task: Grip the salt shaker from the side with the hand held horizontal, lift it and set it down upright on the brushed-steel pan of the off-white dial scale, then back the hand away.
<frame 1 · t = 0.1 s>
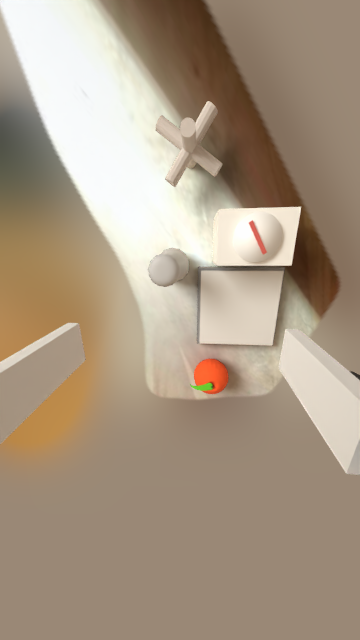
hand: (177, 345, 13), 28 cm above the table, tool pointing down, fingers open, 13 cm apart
salt shaker: (174, 264, 39), on the table
dial scale: (236, 306, 40), on the table
pipe connector: (191, 162, 33), on the table
clementine: (207, 366, 46), on the table
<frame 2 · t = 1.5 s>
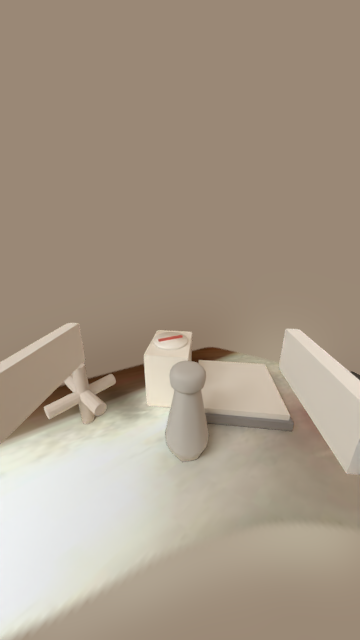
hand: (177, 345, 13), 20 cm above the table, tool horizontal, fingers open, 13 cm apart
salt shaker: (186, 448, 29), on the table
dial scale: (234, 393, 39), on the table
pipe connector: (88, 420, 33), on the table
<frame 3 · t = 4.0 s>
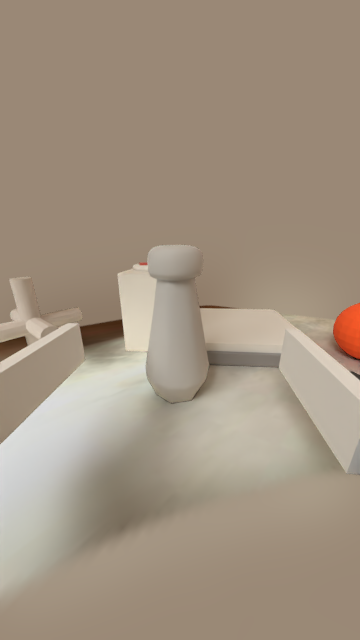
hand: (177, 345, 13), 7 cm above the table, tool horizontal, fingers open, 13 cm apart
salt shaker: (177, 390, 20), on the table
dial scale: (239, 338, 31), on the table
pipe connector: (43, 366, 24), on the table
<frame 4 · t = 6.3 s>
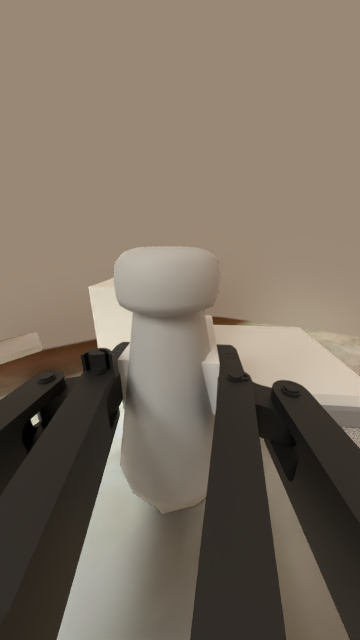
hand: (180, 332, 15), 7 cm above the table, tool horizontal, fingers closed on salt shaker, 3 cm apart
salt shaker: (173, 475, 13), on the table, touching gripper
dial scale: (257, 369, 23), on the table
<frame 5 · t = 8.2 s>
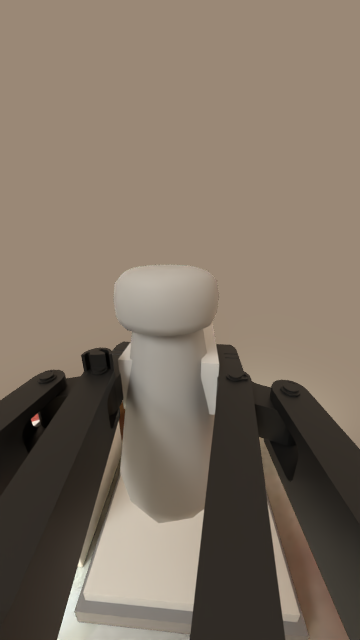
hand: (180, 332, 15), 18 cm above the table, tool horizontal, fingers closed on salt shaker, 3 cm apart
salt shaker: (173, 484, 13), point 10 cm above the table, touching gripper
dial scale: (189, 502, 21), on the table
when the fingers open (11 cm above the table, at t = 10.0 s): salt shaker stays where it is, resting on dial scale.
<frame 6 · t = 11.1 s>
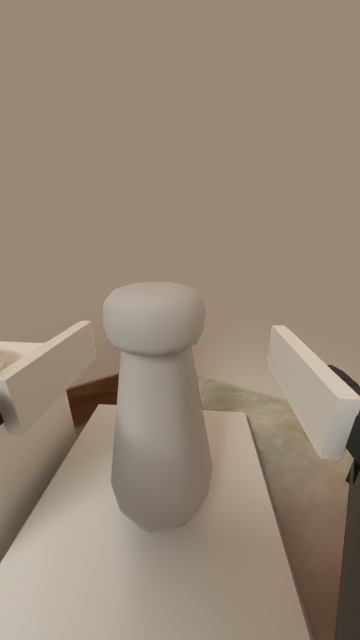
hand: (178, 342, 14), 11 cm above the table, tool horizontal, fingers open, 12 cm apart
salt shaker: (163, 493, 13), point 2 cm above the table, touching dial scale
dial scale: (157, 514, 14), on the table
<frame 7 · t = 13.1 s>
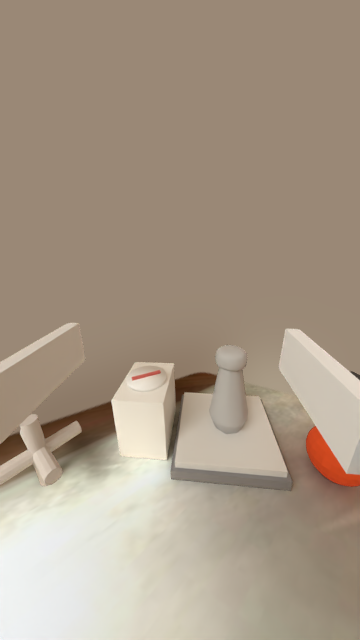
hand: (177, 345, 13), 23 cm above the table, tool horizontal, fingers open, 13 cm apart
salt shaker: (227, 424, 33), point 2 cm above the table, touching dial scale
dial scale: (223, 435, 34), on the table
pipe connector: (48, 479, 28), on the table
clementine: (335, 476, 27), on the table
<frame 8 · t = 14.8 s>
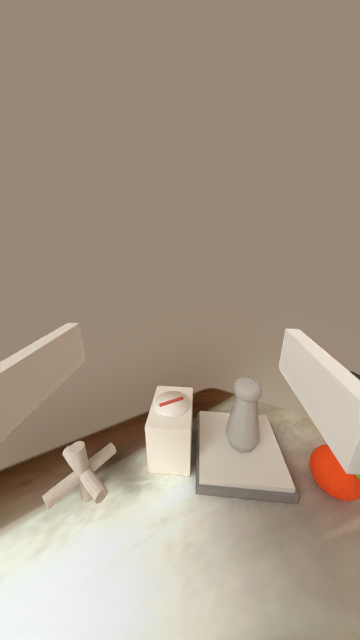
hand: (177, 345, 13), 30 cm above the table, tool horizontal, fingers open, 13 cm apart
salt shaker: (240, 443, 37), point 2 cm above the table, touching dial scale
dial scale: (237, 452, 38), on the table
pipe connector: (88, 495, 32), on the table
clementine: (333, 490, 32), on the table
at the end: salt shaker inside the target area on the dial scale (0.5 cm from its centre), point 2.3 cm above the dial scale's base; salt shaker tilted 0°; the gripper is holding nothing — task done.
